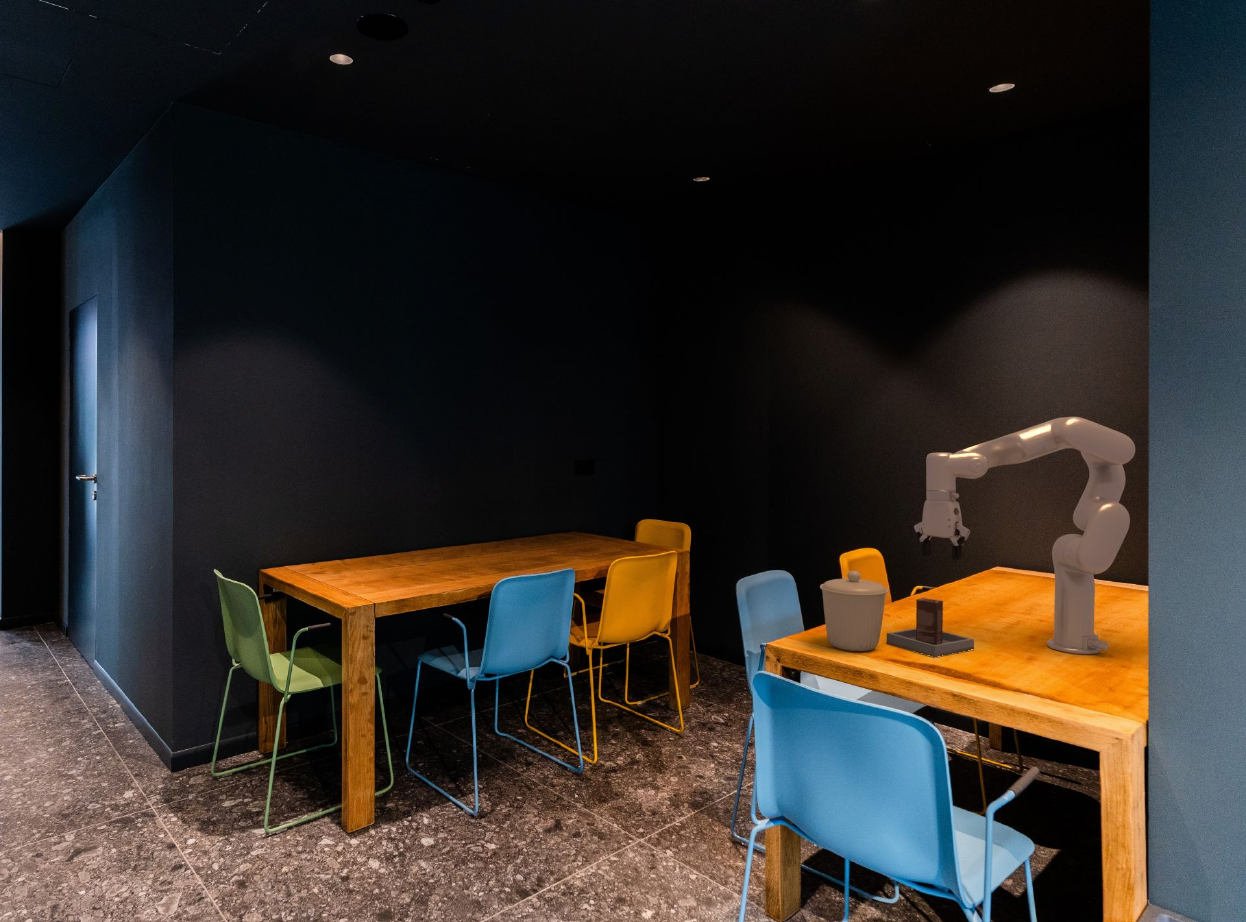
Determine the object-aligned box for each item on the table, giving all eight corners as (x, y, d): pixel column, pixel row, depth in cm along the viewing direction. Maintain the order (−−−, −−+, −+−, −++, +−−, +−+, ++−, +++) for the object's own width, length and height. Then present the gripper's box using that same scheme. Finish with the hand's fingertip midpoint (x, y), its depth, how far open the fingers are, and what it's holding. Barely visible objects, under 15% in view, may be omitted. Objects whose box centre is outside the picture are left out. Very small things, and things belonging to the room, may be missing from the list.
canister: (858, 636, 220) (859, 564, 220) (902, 652, 204) (903, 574, 203) (806, 641, 214) (807, 567, 213) (846, 658, 197) (847, 578, 197)
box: (943, 643, 209) (943, 600, 209) (936, 646, 206) (937, 602, 206) (921, 639, 213) (922, 597, 213) (914, 642, 210) (915, 599, 210)
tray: (973, 650, 206) (974, 639, 206) (934, 657, 198) (934, 646, 198) (924, 636, 220) (925, 626, 220) (886, 643, 212) (886, 633, 212)
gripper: (977, 497, 205) (977, 560, 206) (923, 494, 220) (923, 553, 220) (960, 498, 201) (960, 562, 202) (906, 495, 216) (906, 555, 217)
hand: (941, 557), depth 211 cm, fingers open, 9 cm apart
